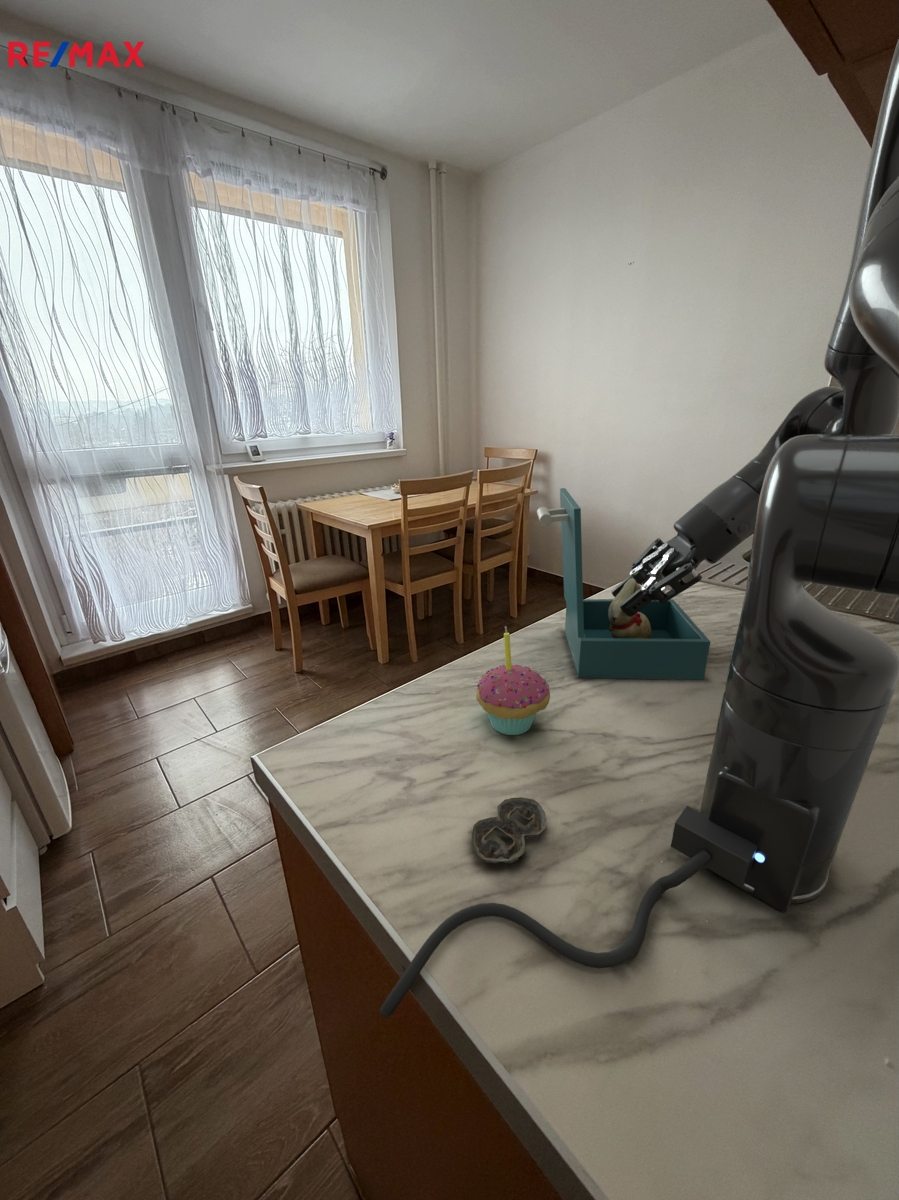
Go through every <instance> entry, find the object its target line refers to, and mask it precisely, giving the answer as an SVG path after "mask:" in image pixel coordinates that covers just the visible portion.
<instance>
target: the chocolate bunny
mask: <svg viewBox="0 0 899 1200" xmlns="http://www.w3.org/2000/svg"><path fill="white" fill-rule="evenodd" d="M641 586H642V585H640V584H638V583H636V581H635V579H634V578H630V579H629V580H628V581H627V582H626V583H625V584H624V587H623V588H622V590H621V591H620V592H619V593H618V595H617V596H616V597H614V598H613V601H612V603H611V604H610V606H609V610H608V616H609V620H610V622H611V627H610V628H609V631H611V634H612V636H613V638H632V639H650V638H651V626H650V623H649V620H648V618H647V617H646V616H645V615H644V614H642V613H640V612H637V613H636V614H635V615H633V616H632V617H629V616H627V615H626V614H625V613H624V612H623V611H622V610H621V608H620V604H621V603H623V602H624V601H625V600H626V599H627V598H629V597H630V596H631V595H632V594H634V593H635V592H636V591H637V590H638V589H641V588H642V587H641ZM641 590H642V589H641Z"/></svg>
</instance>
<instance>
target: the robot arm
mask: <svg viewBox="0 0 899 1200" xmlns="http://www.w3.org/2000/svg"><path fill="white" fill-rule="evenodd" d="M878 112H879V113H878V117H877V122H876V125H875V130H874V135H873V140H872V145H871V150H870V155H869V160H868V164H867V170H866V175H865V179H864V183H863V190H862V195H861V200H860V206H859V212H858V216H857V223H856V228H855V234H854V240H853V246H852V252H851V258H850V263H849V268H848V272H847V277H846V281H845V285H844V289H843V291H842V292H843V293H842V296H841V300H840V303H839V307H838V310H837V313H836V315H835V316H836V317H835V319H834V322H833V326H832V330H831V332H830V336H829V340H828V343H827V347H826V350H825V353H824V357H823V367H824V370H825V371H826V373H827V374H829V376H831V377H832V378H833V379H834V380H835V381H837V382H838V383H839V385H840V386H836V385H829V386H828V385H827V386H824V387H821V388H818V389H816V390H814V391H812V392H809V393H808V394H807V395H805V396H803V398H801V399H800V400H798V401H797V402H796V404H795V405H794V406H793V407H792V408H791V409H790V411H789V412H788V413H787V415H786V416H785V418H784V419H783V420H782V422H781V423H780V425H779V426H778V427H777V429H776V430H775V431H774V433H773V434H772V435H771V436H770V438H769V439H768V440H767V442H766V443H765V445H763V447H762V449H761V450H760V451H759V452H758V453H757V455H756V456H754V457H753V458H752V459H751V460H750V461H748V462H747V463H745V465H744V466H743V467H741V468H740V469H739V470H738V471H736V472H735V473H734V474H733V475H732V476H730V477H729V478H728V479H727V480H725V481H724V482H722V483H721V484H719V485H718V486H716V487H715V488H714V489H712V490H711V492H709V493H708V494H707V495H706V496H704V497H703V498H702V499H701V500H700V501H698V502H697V503H696V504H695V505H694V506H693V507H692V508H690V509H688V511H687V512H686V513H684V514H683V515H682V516H680V518H678V520H676V521H675V522H674V523H673V529H674V530H675V532H676V533H677V534H676V536H673V537H672V538H670V539H669V540H667V541H666V542H664V541H663V540H662V539H661V538H660V537H658V538H655V540H654V541H652V543H650V545H649V546H647V548H646V549H645V550H644V551H642V553H641V554H639V556H638V557H637V558H636V559H635V560H634V561H633V562H632V563H631V564H630V566H629V567H630V569H631V570H630V572H629V575H628V576H627V577H626V578H625V579H624V580H622V581H621V582H619V584H617V585H616V587H613V589H612V590H611V595H612V596H613V597H614V598H615V597H616V596H617V595H618V593H619V592H620V591H621V590H622V588H623V587H624V584H625V583H626V582H627V581H628V580H629V579H630V578H634V579H635V581H636V583H638V584H639V585H640V586H642V587H641V589H638V590H637V591H636V592H635V593H634V594H632V595H631V596H630V597H629V598H627V599H626V600H625V601H624V602H623V603H621V604H620V608H621V610H622V611H623V612H624V613H625V614H626V615H627V616H629V617H632V616H633V615H635V614H636V613H637V612H638V611H640V610H641V609H642V608H643V607H644V606H646V605H647V604H648V603H649V602H651V601H652V600H653V601H657V600H658V601H659V602H660V603H662V604H663V603H665V602H667V601H668V600H670V599H674V598H675V597H676V596H679V594H681V593H683V592H685V591H686V590H687V589H690V588H691V587H693V586H694V585H696V584H697V583H699V582H700V581H701V580H702V579H703V576H702V575H701V574H700V573H699V571H697V568H698V567H699V565H700V564H701V563H703V561H705V562H707V563H708V564H711V565H715V564H716V563H718V562H719V561H720V560H721V559H723V558H724V557H725V556H727V555H728V554H729V553H730V552H731V551H733V550H734V549H735V548H736V547H738V546H739V545H740V544H741V543H743V542H744V541H746V540H747V539H748V538H749V537H750V536H752V541H751V542H752V543H751V550H750V551H751V552H750V559H749V567H748V573H747V580H746V586H745V592H744V598H743V602H742V608H741V613H740V617H739V622H738V627H737V631H736V637H735V641H734V644H733V649H732V655H731V659H730V664H729V667H728V673H727V678H726V681H725V682H726V683H725V688H724V691H723V695H722V701H721V705H720V711H719V715H718V720H717V726H716V730H715V735H714V739H713V745H712V749H711V754H710V759H709V764H708V768H707V773H706V778H705V783H704V788H703V793H702V798H701V805H700V808H699V810H697V809H694V808H693V807H690V806H689V805H686V806H685V807H684V809H683V810H682V812H681V813H680V814H679V816H678V818H677V819H676V820H675V822H674V826H673V832H672V837H671V843H670V847H671V848H672V849H674V850H676V851H677V852H678V853H681V854H682V855H684V856H686V857H687V858H689V860H688V861H686V862H685V863H684V864H682V865H681V866H680V867H678V868H677V869H675V870H674V871H673V872H671V873H669V874H667V875H664V876H661V877H659V878H658V879H657V880H656V881H654V882H653V883H652V885H651V886H649V888H648V889H647V891H646V892H645V893H644V895H643V897H642V899H641V901H640V903H639V906H638V908H637V911H636V915H635V917H634V921H633V925H632V929H631V931H630V934H629V936H628V938H627V940H626V941H625V942H624V943H623V945H621V946H620V947H618V948H617V949H613V950H610V951H605V952H604V951H603V952H594V951H588V950H584V949H582V948H579V947H577V946H575V945H573V944H571V943H570V942H567V941H565V939H564V938H563V939H562V938H561V937H560V936H559V935H557V934H555V933H554V932H552V930H549V929H548V928H547V927H546V926H544V925H542V923H540V922H539V921H537V920H535V919H534V918H532V917H531V916H530V915H528V914H526V913H525V912H523V911H521V910H519V909H517V908H515V907H513V906H510V905H507V904H505V903H499V902H486V903H485V902H484V903H478V904H475V905H474V904H473V905H470V906H467V907H465V908H462V909H461V910H458V911H456V912H454V913H453V914H451V915H450V916H449V917H447V918H446V919H445V920H444V921H442V923H441V924H439V925H438V926H437V928H435V929H434V931H432V932H431V934H430V935H429V936H428V938H427V939H426V940H425V942H424V943H423V944H422V945H421V947H420V949H419V950H418V952H416V954H415V956H414V957H413V958H412V960H411V961H410V963H409V964H408V966H407V968H406V969H405V970H404V972H403V974H402V975H401V977H400V978H399V980H398V981H397V983H396V984H395V985H394V986H393V988H392V990H391V991H390V992H389V994H388V995H387V997H386V999H385V1001H384V1002H383V1004H382V1005H381V1007H380V1009H379V1012H380V1013H379V1014H380V1015H381V1016H382V1017H383V1018H389V1017H390V1016H392V1015H393V1014H394V1013H395V1011H396V1010H397V1008H398V1007H399V1005H400V1004H401V1002H402V1001H403V1000H404V998H405V996H406V995H407V993H408V992H409V990H410V989H411V987H412V986H413V984H414V983H415V982H416V980H417V978H418V977H419V975H420V973H421V972H422V970H424V969H423V968H424V967H425V966H426V964H427V963H428V961H429V960H430V958H431V957H432V956H433V954H434V953H435V951H436V950H437V948H438V947H439V945H441V943H442V942H443V941H444V940H445V939H446V938H447V937H448V936H449V935H450V934H451V933H452V932H453V931H455V930H456V929H457V928H459V927H461V926H462V925H464V924H466V923H468V922H471V921H473V920H476V919H480V918H486V917H487V918H488V917H497V918H503V919H505V920H508V921H511V922H512V923H514V924H516V925H518V926H520V927H522V928H523V929H524V930H526V931H527V932H529V933H530V934H532V935H533V936H534V937H536V938H537V939H538V940H540V941H541V942H543V943H544V944H545V945H547V946H548V947H549V948H551V949H552V950H554V951H555V952H557V953H558V954H559V955H561V956H563V957H565V958H566V959H568V960H570V961H572V962H574V963H576V964H579V965H582V966H584V967H588V968H593V969H606V968H608V969H610V968H615V967H617V966H621V965H624V964H625V963H626V962H627V961H629V960H631V959H632V958H633V957H634V956H635V955H636V954H637V953H638V951H639V950H640V947H641V946H642V944H643V941H644V939H645V935H646V930H647V927H648V922H649V918H650V915H651V912H652V909H653V908H654V907H655V904H656V903H657V901H658V900H659V898H660V897H661V896H662V895H663V894H664V893H665V892H666V891H667V890H669V889H673V888H674V889H675V888H676V887H679V886H680V885H682V884H683V883H686V881H687V880H689V879H690V878H691V877H693V876H694V875H696V874H697V873H698V872H699V871H700V870H702V869H703V868H706V869H708V870H709V871H711V872H712V873H715V874H716V875H718V876H720V877H722V878H723V879H725V880H727V881H728V882H730V883H732V884H733V885H735V886H736V887H738V888H740V889H742V890H743V891H745V892H747V893H748V894H751V895H753V896H754V897H756V898H757V899H759V900H761V901H763V902H764V903H766V904H768V905H770V906H772V907H773V908H775V909H776V910H778V911H780V912H782V913H786V912H787V911H788V909H789V907H790V905H791V904H803V903H806V902H810V901H812V900H814V899H816V898H817V897H819V896H820V895H821V894H822V893H823V891H824V890H825V888H826V885H827V883H828V880H829V876H830V875H829V873H830V869H831V866H832V864H833V861H834V858H835V856H836V853H837V851H838V846H839V844H840V841H841V838H842V836H843V833H844V830H845V827H846V825H847V821H848V819H849V816H850V813H851V811H852V808H853V805H854V803H855V801H856V798H857V794H858V791H859V788H860V785H861V783H862V780H863V777H864V775H865V772H866V769H867V766H868V763H869V761H870V759H871V755H872V754H873V753H872V752H873V750H874V748H875V744H876V742H877V739H878V737H879V735H880V732H881V729H882V726H883V724H884V721H885V718H886V715H887V712H888V710H889V707H890V704H891V701H892V698H893V696H894V693H895V691H896V687H897V685H898V682H899V654H898V653H897V651H896V650H895V648H893V646H892V645H891V644H890V643H888V642H887V641H886V640H885V639H884V638H882V637H881V636H879V635H878V634H876V633H875V632H872V631H871V630H869V629H868V628H866V627H863V626H861V625H859V624H857V623H855V622H853V621H851V620H849V619H847V618H845V617H843V616H841V615H839V614H838V613H836V612H834V611H833V610H831V609H830V608H828V607H826V606H825V605H824V604H822V603H821V602H820V601H818V600H817V599H816V598H815V597H814V596H812V594H810V593H809V591H807V589H806V587H805V586H804V583H807V584H813V585H819V586H826V587H832V588H839V589H846V590H852V591H859V592H864V593H872V592H873V593H874V594H877V595H884V596H891V597H899V434H897V433H896V434H893V433H894V432H895V429H896V427H897V424H898V421H899V39H898V38H897V41H896V45H895V49H894V52H893V55H892V58H891V62H890V65H889V70H888V74H887V78H886V80H885V85H884V90H883V93H882V99H881V103H880V107H879V111H878Z"/></svg>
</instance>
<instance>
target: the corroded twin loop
mask: <svg viewBox="0 0 899 1200" xmlns="http://www.w3.org/2000/svg"><path fill="white" fill-rule="evenodd" d="M496 809H497V816H492V817H487V818H483V819H479V820H478V821H476V822H475V823H474V824H473V827H472V832H471V844H472V848H473V849H474V852H475V854H476V855H477V856H478V857H479V858H480V859H481V860H483V861H484V862H485V863H487V864H489V863H490V864H499V863H502V862H503V863H504V864H513V863H516V862H518V860H519V858H520V857H521V856H523V855H524V853H525V851H526V840H528V839H531V838H537V837H539V835H541V833H542V832H544V830H545V829H546V828H547V825H546V823H547V816H546V811H545V810H544V809H543V807H542V806H541V804H540V802H539V801H537V800H535V799H533V798H528V797H522V796H521V797H510V798H507V799H504V800H502V802H500V803H499V804H498V805H497V807H496ZM515 812H516V813H517V814H518V816H519V818H520V819H521V820H522V821H524V822H525V823H527V822H528V823H527V824H522V823H521V822H520V821H519V820H518V819H516V818H514V817H512V815H513V814H514V813H515ZM493 831H499V832H500V833H502V834H503V835H504V836H506V837H507V838H509V839H510V840H513V842H512V843H511V844H510V845H509V846H508V847H507V848H506V849H504V850H502V849H503V847H504V846H505V845H506V842H504V841H503V840H502V839H501V838H500V837H499V836H496V835H494V834H492V835H491V833H492V832H493ZM489 835H490V836H489ZM487 837H488V838H487Z"/></svg>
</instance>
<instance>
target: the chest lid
mask: <svg viewBox="0 0 899 1200" xmlns="http://www.w3.org/2000/svg"><path fill="white" fill-rule="evenodd" d="M559 503H560V505H559V506H560V507H559V508H551V509H550V508H547V507H546V506H540V507H538V509H537V510H536V515H537V518H538V521H539V523H540V524H541V526H543V527H548V526H550V525H551V524H552V523H554V522H555V523H556V522H560V527H561V528H560V529H561V551H562V552H561V553H562V575H563V596H564V600H565V603H567V606H568V609H569V612H570V615H571V618H572V621H573V624H574V627H575V630H576V633H577V636H578V638H580V637H584V618H583V599H584V585H583V584H584V582H583V579H584V578H583V550H582V549H583V548H582V547H583V546H582V509H581V506H579V504H578V503H577V501H576V500H575V499H574V498H573V497H572V495H571V494H570V492H569V491H568V490H567V489H566V487H564V488H559Z"/></svg>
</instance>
